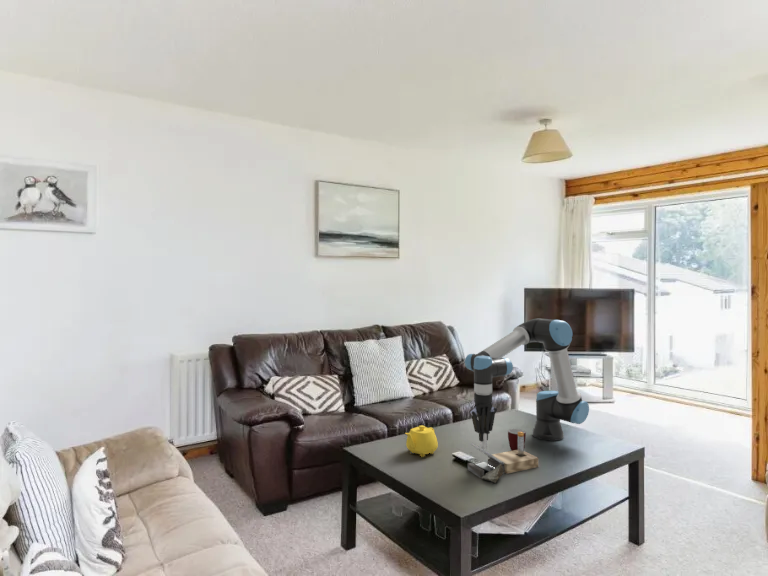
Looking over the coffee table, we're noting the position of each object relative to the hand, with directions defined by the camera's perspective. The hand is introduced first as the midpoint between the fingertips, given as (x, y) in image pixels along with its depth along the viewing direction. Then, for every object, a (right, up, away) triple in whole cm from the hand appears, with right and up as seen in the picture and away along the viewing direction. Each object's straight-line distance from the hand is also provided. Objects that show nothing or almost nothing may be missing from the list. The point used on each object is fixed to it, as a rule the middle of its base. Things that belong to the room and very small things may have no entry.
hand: (483, 448), depth 212 cm
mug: (+21, -10, +22) cm, 31 cm away
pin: (+18, -10, +9) cm, 22 cm away
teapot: (-25, -10, +22) cm, 35 cm away
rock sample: (+2, -11, -8) cm, 14 cm away
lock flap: (+6, -6, +3) cm, 9 cm away
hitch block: (+9, -10, +5) cm, 14 cm away
